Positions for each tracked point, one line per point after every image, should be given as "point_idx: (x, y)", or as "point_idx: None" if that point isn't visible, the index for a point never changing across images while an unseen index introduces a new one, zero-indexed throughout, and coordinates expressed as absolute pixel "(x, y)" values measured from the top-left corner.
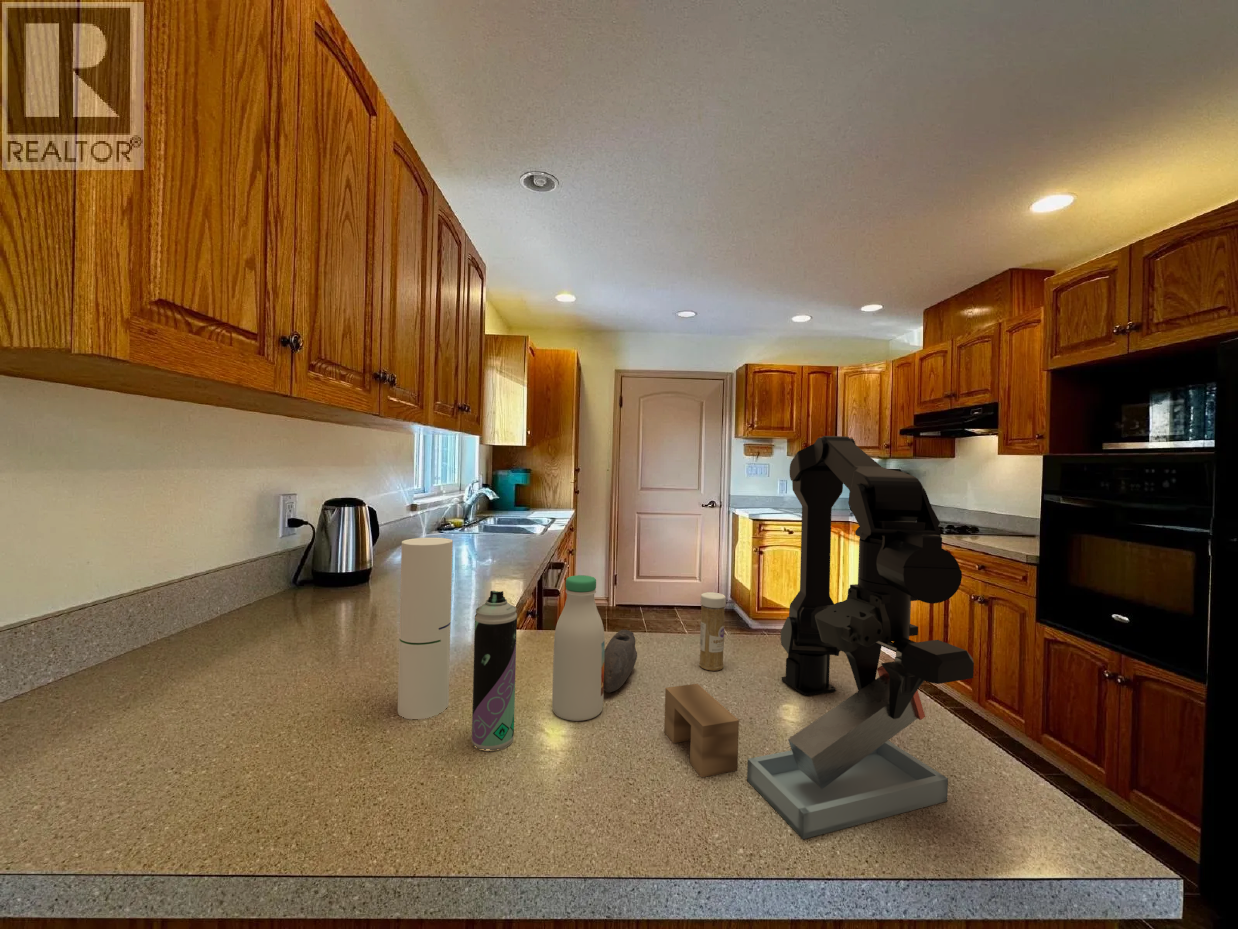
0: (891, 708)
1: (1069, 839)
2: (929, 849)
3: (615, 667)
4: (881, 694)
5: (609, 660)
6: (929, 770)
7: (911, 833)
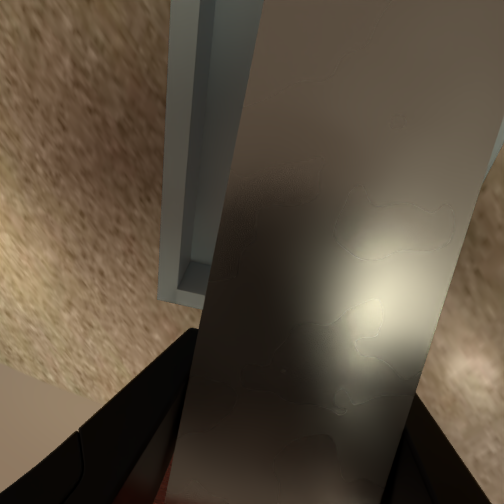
0: (176, 361)
1: (28, 326)
2: (58, 41)
3: None
4: (265, 432)
5: None
6: (199, 296)
7: (118, 60)
